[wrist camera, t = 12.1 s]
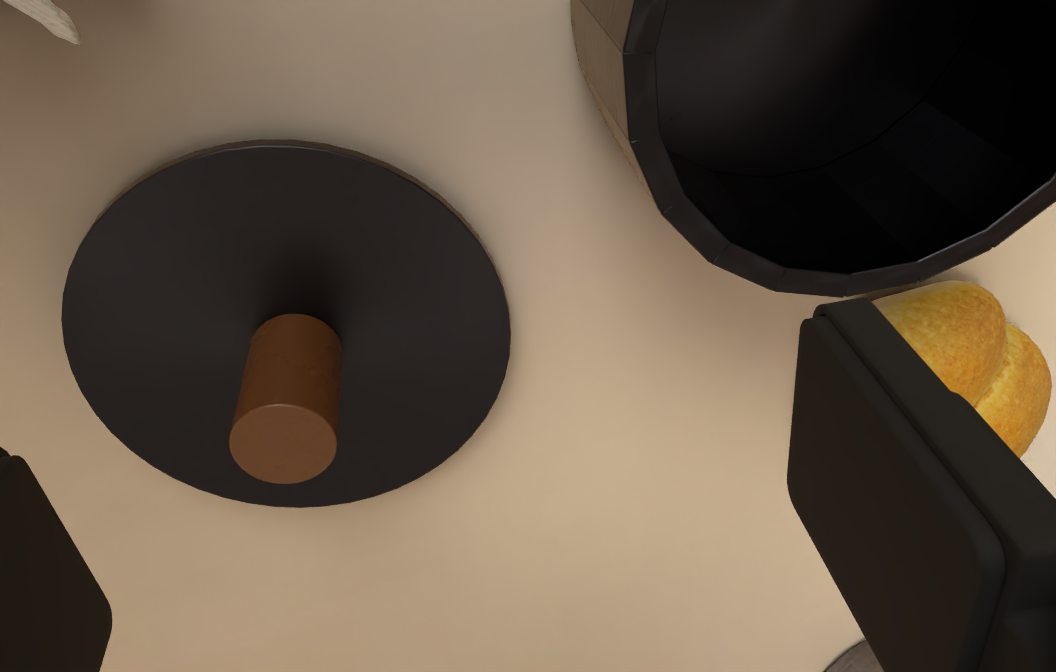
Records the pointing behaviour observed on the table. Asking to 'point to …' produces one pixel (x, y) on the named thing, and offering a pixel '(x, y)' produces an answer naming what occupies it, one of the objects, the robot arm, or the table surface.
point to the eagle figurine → (49, 17)
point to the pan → (831, 129)
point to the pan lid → (286, 323)
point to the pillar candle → (857, 660)
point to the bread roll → (976, 354)
